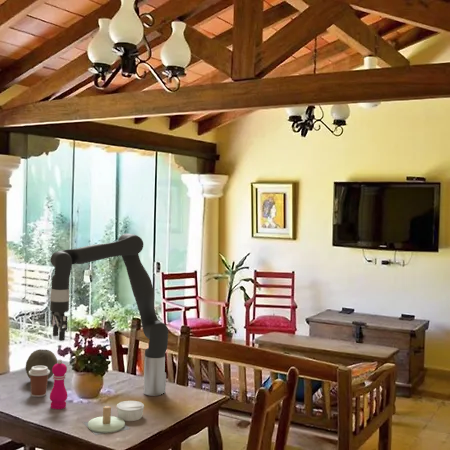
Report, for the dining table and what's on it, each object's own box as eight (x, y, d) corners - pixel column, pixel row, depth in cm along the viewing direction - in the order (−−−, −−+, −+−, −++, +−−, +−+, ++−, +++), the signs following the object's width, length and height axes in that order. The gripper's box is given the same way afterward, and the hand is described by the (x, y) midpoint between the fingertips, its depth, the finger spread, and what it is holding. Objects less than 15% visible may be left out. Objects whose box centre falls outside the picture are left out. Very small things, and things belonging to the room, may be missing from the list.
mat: (116, 417, 244) (116, 416, 244) (130, 429, 232) (130, 428, 232) (82, 423, 236) (82, 422, 236) (95, 436, 225) (95, 435, 225)
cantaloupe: (51, 386, 279) (52, 354, 278) (20, 385, 279) (22, 353, 279) (60, 377, 293) (61, 347, 293) (31, 376, 293) (32, 345, 293)
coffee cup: (51, 391, 273) (52, 365, 272) (46, 398, 263) (47, 370, 263) (31, 390, 272) (32, 364, 272) (25, 397, 263) (26, 370, 263)
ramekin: (131, 425, 237) (131, 412, 237) (110, 418, 243) (110, 405, 243) (149, 417, 247) (149, 404, 247) (128, 411, 253) (129, 398, 252)
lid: (116, 416, 244) (117, 399, 244) (130, 428, 232) (131, 410, 232) (82, 422, 236) (83, 404, 236) (95, 435, 225) (96, 416, 224)
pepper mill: (62, 410, 249) (63, 362, 248) (46, 408, 251) (47, 361, 250) (70, 405, 256) (71, 358, 255) (54, 403, 258) (56, 356, 257)
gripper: (74, 301, 247) (72, 341, 248) (63, 296, 259) (62, 333, 259) (56, 302, 243) (54, 342, 243) (45, 297, 255) (44, 335, 255)
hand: (58, 338), depth 251 cm, fingers open, 8 cm apart
